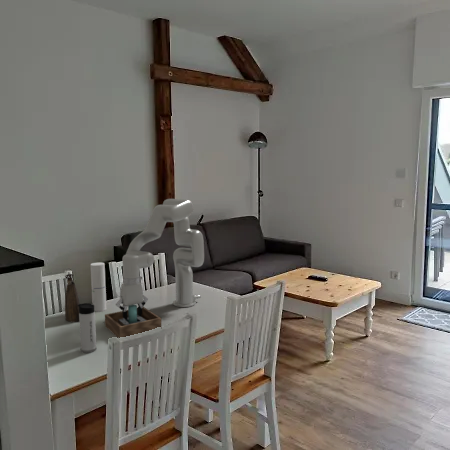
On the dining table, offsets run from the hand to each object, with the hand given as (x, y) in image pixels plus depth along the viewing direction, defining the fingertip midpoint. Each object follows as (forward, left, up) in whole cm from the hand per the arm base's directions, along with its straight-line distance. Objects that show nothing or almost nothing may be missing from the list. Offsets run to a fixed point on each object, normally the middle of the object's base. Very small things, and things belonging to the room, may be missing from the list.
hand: (132, 317), depth 208 cm
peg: (0, 0, -5) cm, 5 cm away
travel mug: (+25, +12, -6) cm, 28 cm away
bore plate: (0, 0, -6) cm, 6 cm away
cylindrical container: (+4, -36, -6) cm, 37 cm away
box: (0, 0, -6) cm, 6 cm away
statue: (+20, -28, -6) cm, 35 cm away
